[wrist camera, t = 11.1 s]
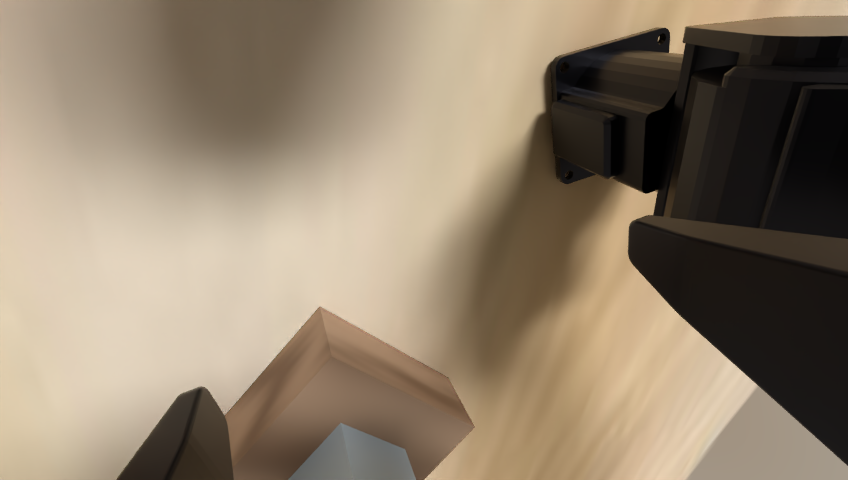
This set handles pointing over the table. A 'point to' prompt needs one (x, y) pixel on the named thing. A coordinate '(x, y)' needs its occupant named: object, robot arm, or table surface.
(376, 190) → the table surface
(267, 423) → the walnut plinth
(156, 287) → the table surface
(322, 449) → the slate block
